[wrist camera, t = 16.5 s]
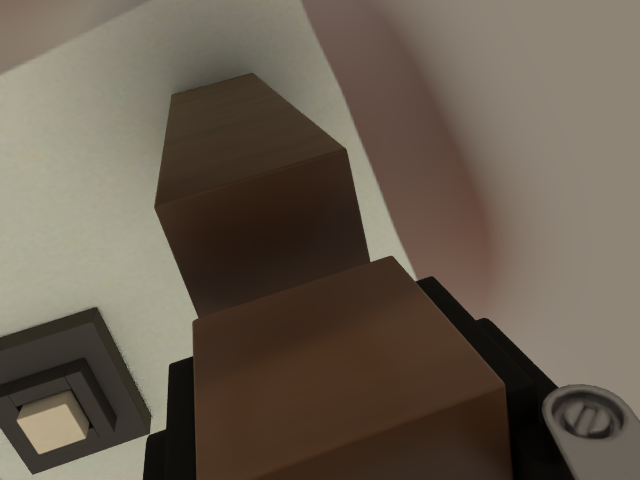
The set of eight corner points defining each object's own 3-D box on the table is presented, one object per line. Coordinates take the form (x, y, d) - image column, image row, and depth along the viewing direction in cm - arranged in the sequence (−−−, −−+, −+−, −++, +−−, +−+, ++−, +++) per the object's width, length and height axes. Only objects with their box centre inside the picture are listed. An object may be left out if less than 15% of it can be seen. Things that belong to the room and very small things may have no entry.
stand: (171, 95, 37) (153, 205, 15) (253, 72, 37) (347, 147, 16) (198, 174, 39) (217, 364, 18) (274, 151, 40) (380, 309, 18)
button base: (-33, 347, 40) (-54, 380, 37) (96, 306, 41) (88, 334, 38) (38, 455, 45) (26, 493, 42) (151, 416, 46) (149, 449, 43)
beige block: (22, 404, 39) (15, 420, 38) (70, 388, 40) (65, 403, 38) (44, 438, 41) (38, 455, 39) (90, 422, 41) (86, 438, 40)
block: (190, 319, 11) (194, 498, 7) (392, 253, 11) (507, 383, 7) (251, 467, 13) (282, 676, 9) (420, 405, 13) (524, 574, 9)
